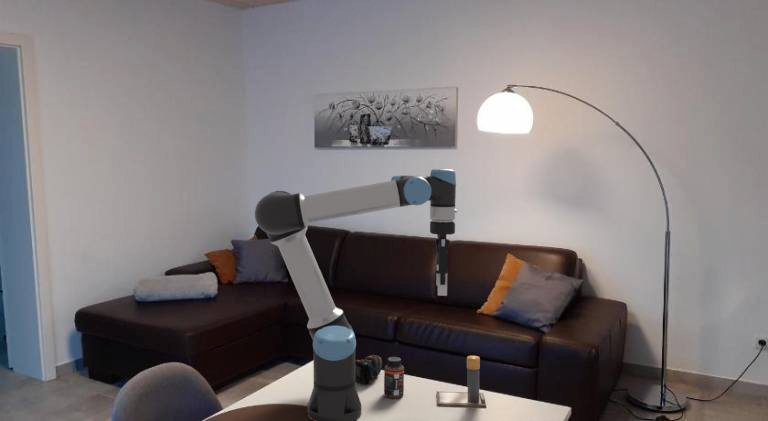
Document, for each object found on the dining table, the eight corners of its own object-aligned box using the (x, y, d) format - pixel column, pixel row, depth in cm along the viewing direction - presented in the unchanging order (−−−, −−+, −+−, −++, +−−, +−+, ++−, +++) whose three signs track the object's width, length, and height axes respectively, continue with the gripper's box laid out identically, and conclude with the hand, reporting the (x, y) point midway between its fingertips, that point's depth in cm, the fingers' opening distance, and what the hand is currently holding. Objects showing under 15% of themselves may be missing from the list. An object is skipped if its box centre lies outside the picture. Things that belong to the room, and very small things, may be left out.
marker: (467, 403, 167) (467, 359, 166) (466, 398, 171) (466, 355, 170) (480, 403, 167) (480, 359, 166) (479, 398, 170) (478, 355, 170)
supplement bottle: (401, 400, 171) (402, 363, 170) (382, 398, 172) (382, 361, 171) (405, 392, 177) (405, 356, 176) (386, 390, 178) (386, 354, 177)
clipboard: (437, 405, 167) (437, 400, 167) (436, 393, 176) (436, 388, 176) (486, 407, 166) (486, 402, 166) (482, 394, 175) (482, 390, 175)
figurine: (341, 365, 183) (368, 347, 196) (348, 389, 184) (375, 370, 196) (362, 363, 178) (388, 345, 191) (370, 388, 179) (395, 369, 191)
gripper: (457, 225, 160) (456, 300, 162) (452, 216, 185) (451, 281, 187) (430, 224, 161) (429, 299, 163) (429, 216, 186) (428, 281, 187)
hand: (441, 290), depth 175 cm, fingers open, 13 cm apart
